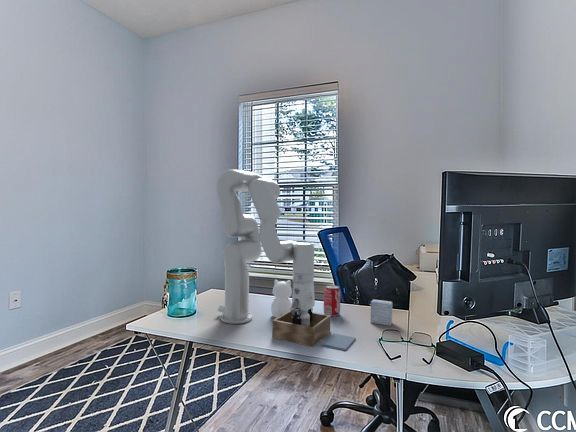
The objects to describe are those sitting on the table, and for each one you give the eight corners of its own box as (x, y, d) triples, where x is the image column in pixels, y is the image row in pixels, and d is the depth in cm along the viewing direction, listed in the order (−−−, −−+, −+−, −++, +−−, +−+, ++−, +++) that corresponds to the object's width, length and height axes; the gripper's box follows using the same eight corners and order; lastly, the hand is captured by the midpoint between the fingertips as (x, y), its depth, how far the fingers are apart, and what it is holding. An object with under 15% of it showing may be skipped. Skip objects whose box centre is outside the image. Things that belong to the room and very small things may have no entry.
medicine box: (392, 323, 135) (392, 301, 135) (390, 326, 131) (391, 304, 131) (372, 319, 138) (372, 299, 138) (370, 323, 134) (370, 301, 134)
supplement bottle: (293, 331, 123) (294, 305, 123) (308, 331, 124) (308, 305, 123) (295, 337, 118) (295, 310, 118) (310, 337, 118) (311, 309, 118)
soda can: (339, 312, 148) (340, 285, 147) (340, 317, 141) (341, 288, 140) (323, 311, 148) (323, 284, 148) (323, 316, 141) (324, 288, 141)
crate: (272, 337, 117) (272, 320, 117) (292, 324, 131) (292, 308, 131) (313, 346, 110) (313, 328, 110) (330, 331, 124) (330, 315, 124)
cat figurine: (293, 313, 146) (294, 278, 146) (290, 322, 133) (291, 284, 133) (272, 312, 147) (273, 277, 147) (267, 321, 134) (268, 283, 134)
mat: (322, 345, 111) (322, 343, 111) (333, 334, 121) (333, 333, 121) (345, 350, 107) (345, 349, 107) (355, 339, 117) (355, 337, 117)
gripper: (302, 283, 111) (301, 335, 111) (322, 274, 126) (321, 320, 126) (282, 280, 114) (281, 331, 115) (304, 272, 130) (303, 317, 130)
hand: (302, 325), depth 121 cm, fingers open, 8 cm apart
